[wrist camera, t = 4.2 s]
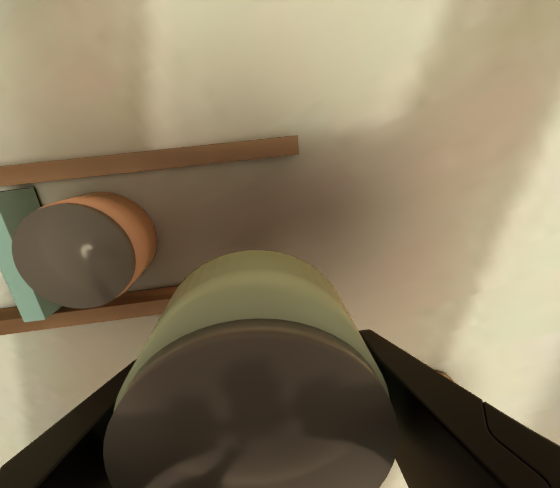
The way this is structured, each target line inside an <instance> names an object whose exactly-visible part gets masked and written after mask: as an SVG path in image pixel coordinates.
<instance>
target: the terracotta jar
mask: <svg viewBox="0 0 560 488" xmlns="http://www.w3.org/2000/svg"><path fill="white" fill-rule="evenodd" d="M156 250H157V236H156V231H155V228H154V226H153V224H152V222H151V220H150V218H149V217H148V215H147V214H146V213H145V212H144V211H143V210H142V209H141V208H140V207H139V206H138V205H137V204H135V203H134V202H133V201H131V200H129V199H127V198H125V197H123V196H120V195H117V194H114V193H109V192H94V193H89V194H85V195H81V196H77V197H73V198H69V199H65V200H61V201H57V202H53V203H50V204H47V205H45V206H43V207H41V208H39V209H37V210H36V211H34V212H32V213H30V214H29V215H27V216H26V217H25V218H24V219H23V220H22V221H21V222H20V224H19V225H18V226H17V228H16V230H15V232H14V235H13V239H12V256H13V260H14V263H15V266H16V268H17V270H18V272H19V274H20V275H21V277H22V278H23V280H24V281H25V282H26V283H27V284H28V286H29V287H31V288H32V289H33V290H34V291H35V292H36V293H38V294H39V295H40V296H42V297H44V298H45V299H47V300H49V301H51V302H53V303H56V304H59V305H61V306H65V307H70V308H80V309H85V308H94V307H98V306H101V305H104V304H106V303H109V302H111V301H112V300H114V299H115V298H117V297H118V296H120V295H121V294H123V293H124V292H125V291H126V290H127V289H128V288H129V287H130V286H131V285H132V283H133V282H134V281H135V280H136V279H137V278H138V277H139V276H140V275H141V274H142V273H143V272H144V270H145V269H146V268H147V267H148V266H149V265H150V264H151V262H152V260H153V258H154V256H155V253H156Z"/></svg>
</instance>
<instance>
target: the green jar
mask: <svg viewBox="0 0 560 488" xmlns="http://www.w3.org/2000/svg"><path fill="white" fill-rule="evenodd" d="M398 441H399V431H398V422H397V418H396V413H395V411H394V408H393V406H392V404H391V401H390V398H389V393H388V388H387V385H386V383H385V380H384V378H383V376H382V373H381V372H380V370H379V368H378V366H377V364H376V362H375V361H374V359H373V357H372V355H371V353H370V351H369V350H368V348H367V346H366V344H365V342H364V340H363V339H362V337H361V335H360V333H359V331H358V329H357V328H356V326H355V324H354V322H353V320H352V318H351V317H350V315H349V313H348V311H347V309H346V307H345V306H344V304H343V302H342V300H341V298H340V296H339V295H338V293H337V291H336V290H335V288H334V286H333V285H332V284H331V283H330V281H329V280H328V279H327V278H326V277H325V276H324V275H323V274H322V273H321V272H320V271H318V270H317V269H316V268H314V267H313V266H311V265H310V264H308V263H307V262H305V261H303V260H301V259H298V258H296V257H294V256H291V255H288V254H285V253H280V252H275V251H267V250H247V251H240V252H234V253H230V254H227V255H224V256H220V257H218V258H216V259H213V260H211V261H209V262H207V263H205V264H204V265H202V266H201V267H199V268H197V269H196V270H195V271H194V272H192V273H191V274H190V275H189V276H188V277H187V278H186V279H185V280H184V281H183V282H182V283H181V284H180V285H179V287H178V288H177V290H176V291H175V293H174V294H173V296H172V298H171V299H170V301H169V303H168V305H167V306H166V308H165V310H164V312H163V314H162V315H161V317H160V319H159V321H158V322H157V324H156V326H155V328H154V330H153V331H152V333H151V335H150V337H149V338H148V340H147V342H146V344H145V345H144V347H143V349H142V351H141V353H140V354H139V356H138V358H137V360H136V361H135V363H134V365H133V367H132V369H131V370H130V372H129V374H128V376H127V377H126V379H125V381H124V383H123V385H122V387H121V389H120V392H119V394H118V396H117V400H116V404H115V407H114V413H113V415H112V417H111V419H110V421H109V424H108V426H107V430H106V434H105V438H104V446H103V458H104V465H105V470H106V473H107V476H108V479H109V482H110V484H111V485H112V487H113V488H379V487H380V486H381V484H382V483H383V482H384V480H385V479H386V477H387V475H388V473H389V471H390V469H391V467H392V465H393V463H394V460H395V456H396V453H397V448H398Z"/></svg>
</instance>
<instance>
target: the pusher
mask: <svg viewBox="0 0 560 488" xmlns="http://www.w3.org/2000/svg"><path fill="white" fill-rule="evenodd" d="M39 208H41V207H40V204H39V201H38V199H37V196H36V193H35V191H34V188H33V187H32V188H23V189H13V190H7V191H0V270H1V272H2V274H3V276H4V279H5V281H6V283H7V285H8V287H9V290H10V292H11V294H12V296H13V298H14V301H15V303H16V305H17V307H18V310H19V312H20V314H21V316H22V318H23V321H24V322H31V321H39V320H46V319H47V318H48V317H49V316H51V315H52V314H53V313H54V312H56V311H57V310H58V309H59V308H60V307H62V306H61V305H59V304H56V303H53V302H51V301H49V300H47V299H45V298H44V297H42V296H40V295H39V294H38V293H36V292H35V291H34V290H33V289H32V288H31V287H29V286H28V284H27V283H26V282H25V281H24V280H23V278H22V277H21V275H20V274H19V272H18V270H17V268H16V266H15V263H14V260H13V256H12V239H13V235H14V232H15V230H16V228H17V226H18V225H19V224H20V222H21V221H22V220H23V219H24V218H25V217H26V216H27V215H29V214H30V213H32V212H34V211H36V210H37V209H39Z"/></svg>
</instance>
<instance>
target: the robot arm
mask: <svg viewBox="0 0 560 488" xmlns="http://www.w3.org/2000/svg"><path fill="white" fill-rule="evenodd" d="M359 333H360V335H361V337H362V339H363V340H364V342H365V344H366V346H367V348H368V350H369V351H370V353H371V355H372V357H373V359H374V361H375V362H376V364H377V366H378V368H379V370H380V372H381V373H382V376H383V378H384V380H385V383H386V385H387V388H388V393H389V398H390V401H391V404H392V406H393V408H394V411H395V413H396V418H397V422H398V431H399V441H398V448H397V453H396V456H395V459H396V461H397V463H398V465H399V468H400V470H401V472H402V474H403V476H404V479H405V481H406V483H407V485H408V487H409V488H560V446H559V445H557V444H556V443H554V442H552V441H550V440H549V439H547V438H545V437H543V436H541V435H540V434H538V433H536V432H534V431H533V430H531V429H529V428H527V427H526V426H524V425H522V424H521V423H519V422H517V421H516V420H514V419H513V418H511V417H509V416H508V415H506V414H504V413H503V412H501V411H499V410H498V409H496V408H495V407H493V406H491V405H490V404H488V403H487V402H483V401H482V399H480V398H478V397H477V396H475V395H474V394H472V393H471V392H469V391H467V390H466V389H464V388H463V387H461V386H459V385H458V384H456V383H455V382H453V381H451V380H450V379H448V378H447V377H445V376H443V375H442V374H440V373H439V372H437V371H435V370H434V369H432V368H431V367H429V366H428V365H426V364H424V363H423V362H421V361H420V360H418V359H416V358H415V357H413V356H412V355H410V354H408V353H407V352H405V351H404V350H402V349H400V348H399V347H397V346H396V345H394V344H392V343H391V342H389V341H388V340H386V339H385V338H383V337H381V336H380V335H378V334H377V333H375V332H373V331H372V330H360V331H359ZM136 360H137V359H136ZM136 360H134V361H133V362H132V363H131V364H129V365H128V366H127V367H126V368H124V369H123V370H122V371H121V372H119V373H118V374H117V375H116V376H114V377H113V378H112V379H111V380H109V381H108V382H107V383H106V384H104V385H103V386H102V387H101V388H99V389H98V390H97V391H96V392H94V393H93V394H92V395H91V396H89V397H88V398H87V399H86V400H84V401H83V402H82V403H81V404H79V405H78V406H77V407H76V408H74V409H73V410H72V411H71V412H69V413H68V414H67V415H66V416H64V417H63V418H62V419H60V420H59V421H58V422H57V423H55V424H54V425H53V426H52V427H50V428H49V429H48V430H47V431H45V432H44V433H43V434H42V435H40V436H39V437H38V438H37V439H35V440H34V441H33V442H32V443H30V444H29V445H28V446H27V447H25V448H24V449H23V450H22V451H20V452H19V453H18V454H17V455H15V456H14V457H13V458H12V459H10V460H9V461H8V462H7V463H5V464H4V465H3V466H2V467H1V468H0V488H113V487H112V485H111V484H110V482H109V479H108V476H107V473H106V470H105V465H104V458H103V446H104V438H105V434H106V430H107V426H108V424H109V421H110V419H111V417H112V415H113V413H114V407H115V404H116V400H117V396H118V394H119V392H120V389H121V387H122V385H123V383H124V381H125V379H126V377H127V376H128V374H129V372H130V370H131V369H132V367H133V365H134V363H135V361H136Z"/></svg>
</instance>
